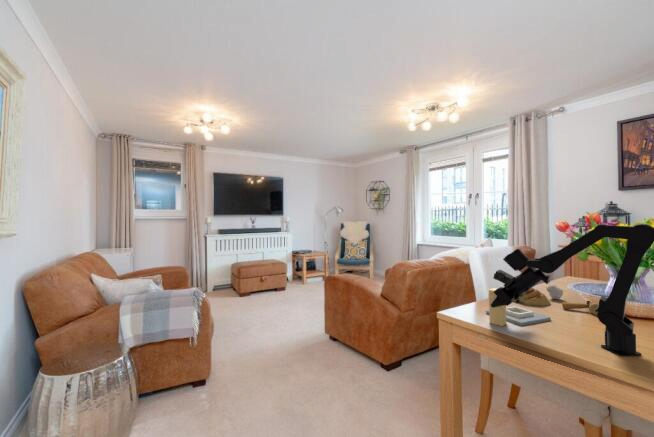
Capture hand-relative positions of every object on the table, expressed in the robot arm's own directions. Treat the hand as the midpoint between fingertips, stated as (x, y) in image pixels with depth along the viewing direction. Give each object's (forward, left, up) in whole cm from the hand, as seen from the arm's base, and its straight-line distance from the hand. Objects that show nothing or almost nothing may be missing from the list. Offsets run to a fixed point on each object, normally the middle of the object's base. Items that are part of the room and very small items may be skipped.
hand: (493, 305), depth 116 cm
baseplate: (+6, -13, -7) cm, 16 cm away
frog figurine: (+30, -48, -7) cm, 57 cm away
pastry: (+26, -33, -7) cm, 42 cm away
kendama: (+10, -47, -7) cm, 48 cm away
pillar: (-1, -1, -7) cm, 7 cm away
